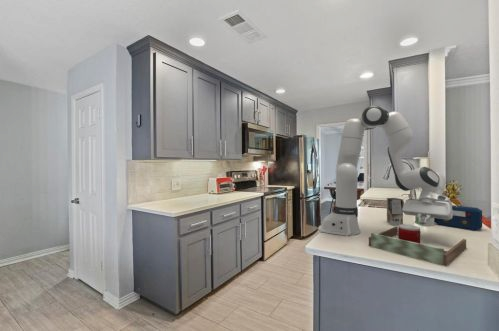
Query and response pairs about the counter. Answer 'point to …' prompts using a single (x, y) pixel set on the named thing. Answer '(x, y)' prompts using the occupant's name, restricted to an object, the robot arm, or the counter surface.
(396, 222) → the coffee box
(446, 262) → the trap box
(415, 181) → the robot arm
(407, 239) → the canned food
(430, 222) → the skincare box
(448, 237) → the counter surface
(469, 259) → the counter surface
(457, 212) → the radio
